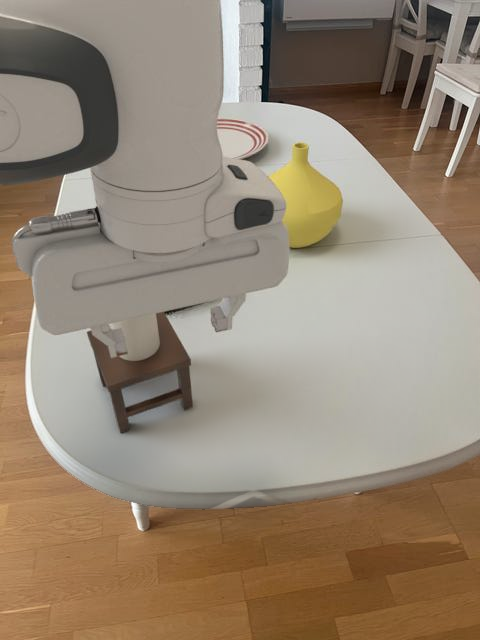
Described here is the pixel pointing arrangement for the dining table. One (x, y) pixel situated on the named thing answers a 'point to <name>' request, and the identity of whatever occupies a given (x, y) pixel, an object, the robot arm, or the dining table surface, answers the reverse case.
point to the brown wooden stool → (144, 373)
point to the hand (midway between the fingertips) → (171, 338)
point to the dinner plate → (240, 137)
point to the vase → (307, 199)
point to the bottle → (139, 336)
